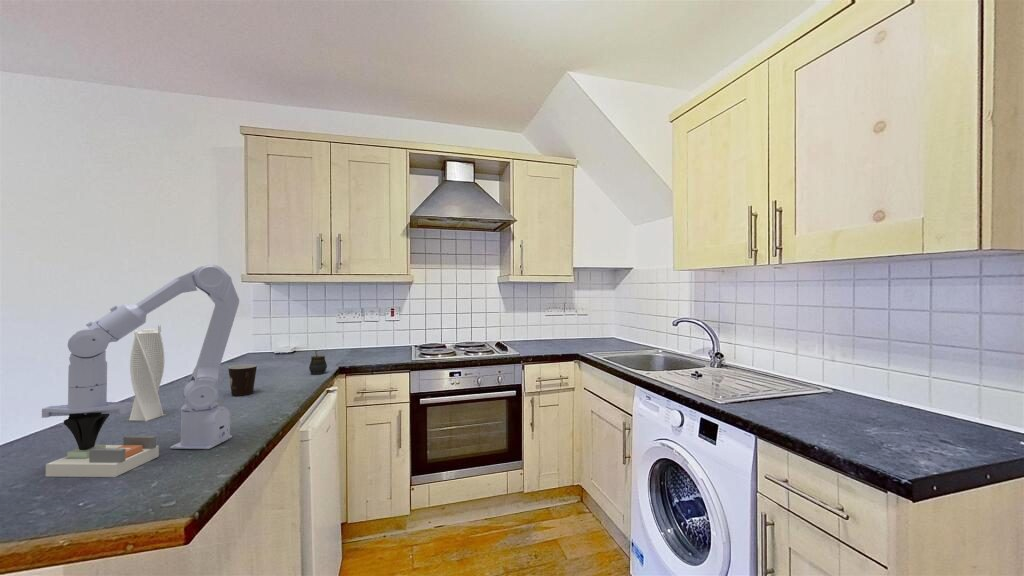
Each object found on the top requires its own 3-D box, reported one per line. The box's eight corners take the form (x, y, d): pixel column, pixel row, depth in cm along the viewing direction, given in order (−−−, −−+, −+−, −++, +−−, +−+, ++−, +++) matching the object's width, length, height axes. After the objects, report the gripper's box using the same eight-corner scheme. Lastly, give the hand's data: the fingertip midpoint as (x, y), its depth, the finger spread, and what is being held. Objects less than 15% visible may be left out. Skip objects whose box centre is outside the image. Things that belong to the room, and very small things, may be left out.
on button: (105, 459, 88) (105, 444, 88) (86, 468, 84) (86, 451, 84) (87, 459, 88) (87, 444, 88) (67, 467, 84) (67, 451, 84)
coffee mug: (232, 392, 148) (232, 365, 148) (259, 390, 151) (259, 363, 151) (221, 400, 137) (222, 371, 137) (251, 398, 140) (251, 369, 140)
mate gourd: (313, 376, 177) (313, 353, 177) (305, 374, 181) (305, 351, 181) (329, 373, 182) (329, 351, 182) (321, 371, 187) (321, 350, 187)
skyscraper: (173, 415, 121) (175, 322, 122) (146, 424, 113) (148, 325, 114) (148, 414, 122) (150, 322, 122) (120, 422, 114) (121, 324, 114)
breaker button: (142, 460, 88) (142, 444, 88) (124, 468, 84) (124, 452, 84) (123, 460, 88) (124, 444, 88) (105, 468, 84) (105, 452, 84)
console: (159, 456, 91) (159, 434, 91) (116, 477, 81) (116, 452, 81) (96, 456, 91) (97, 433, 91) (45, 476, 81) (46, 451, 81)
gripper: (140, 379, 91) (139, 439, 91) (62, 382, 88) (61, 443, 88) (118, 386, 85) (116, 451, 84) (32, 389, 81) (31, 456, 81)
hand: (86, 448), depth 86 cm, fingers closed, pressing on on button
